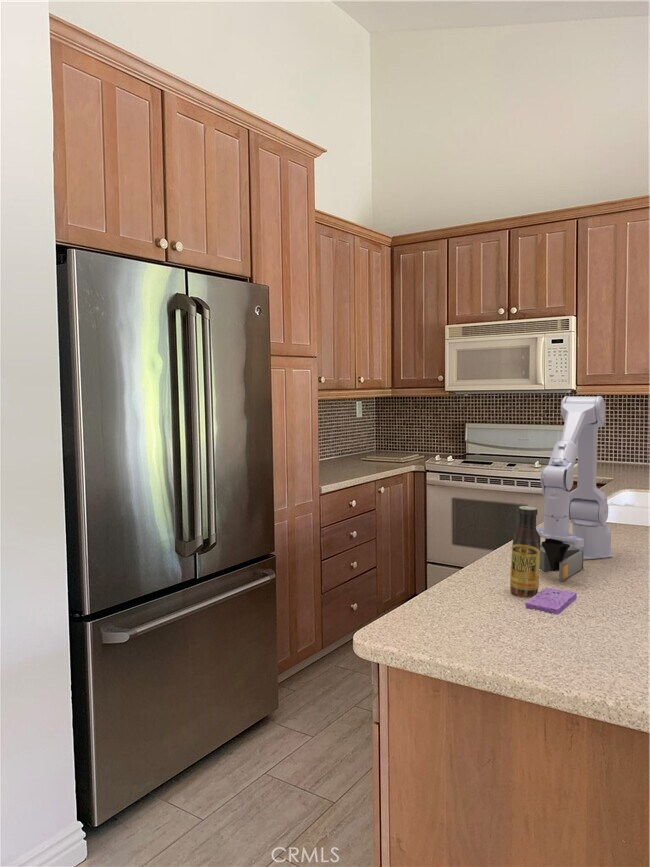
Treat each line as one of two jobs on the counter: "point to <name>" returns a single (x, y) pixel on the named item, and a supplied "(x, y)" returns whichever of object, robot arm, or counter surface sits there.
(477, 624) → the counter surface
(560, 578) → the side door
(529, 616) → the counter surface
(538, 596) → the sponges
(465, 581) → the counter surface
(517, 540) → the sauce bottle
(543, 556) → the camera body
